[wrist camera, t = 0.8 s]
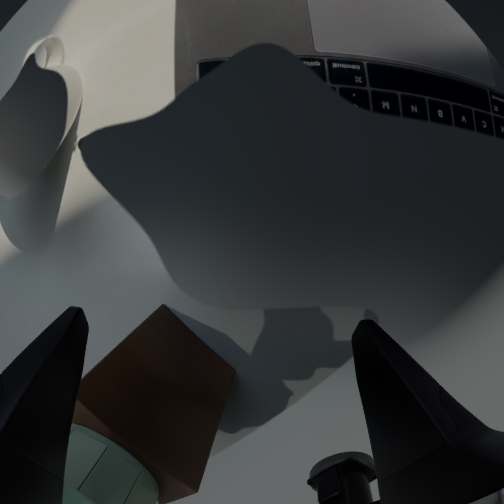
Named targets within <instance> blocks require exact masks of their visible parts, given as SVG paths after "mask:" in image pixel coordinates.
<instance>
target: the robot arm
mask: <svg viewBox="0 0 504 504" xmlns="http://www.w3.org/2000/svg"><path fill="white" fill-rule="evenodd" d="M88 332H89V326H88V322H87V319H86V317H85V314H84V311H83V309H82V308H80V307H74V306H71V307H69V308H68V309H67V310H65V311H64V312H63V313H62V314H61V315H60V316H59V317H58V318H57V319H56V320H55V321H54V322H52V323H51V324H50V325H49V326H48V327H47V328H46V329H45V330H44V331H43V332H42V333H41V334H40V335H39V336H38V337H37V338H36V339H35V340H34V341H33V342H32V343H31V344H29V345H28V346H27V347H26V348H25V349H24V350H23V351H22V352H21V353H20V354H19V355H18V356H17V357H16V358H15V359H14V361H13V362H12V363H11V364H10V365H9V366H8V367H7V368H6V369H5V370H4V371H3V372H2V374H0V504H62V499H63V486H64V474H65V465H66V457H67V450H68V443H69V437H70V431H71V425H72V419H73V414H74V409H75V404H76V399H77V394H78V390H79V385H80V381H81V376H82V372H83V365H84V358H85V351H86V344H87V338H88ZM351 342H352V349H353V356H354V364H355V371H356V378H357V383H358V388H359V392H360V396H361V401H362V405H363V410H364V414H365V419H366V423H367V428H368V433H369V438H370V443H371V448H372V453H373V459H374V464H375V470H376V472H375V471H373V470H372V469H370V468H368V467H367V466H365V465H364V464H362V463H361V462H359V461H357V460H356V459H354V458H352V457H349V458H347V459H345V460H343V461H342V462H340V463H338V464H336V465H335V466H333V467H331V468H329V469H327V470H325V471H324V472H322V473H320V474H318V475H316V476H314V477H312V478H310V479H308V480H307V484H308V485H310V486H312V487H314V488H315V489H317V492H318V502H319V504H504V432H501V431H496V430H493V429H491V428H489V427H487V426H486V425H485V424H484V423H482V422H481V421H480V420H479V419H477V418H476V417H475V416H474V415H473V414H471V413H470V412H469V411H468V410H467V409H466V408H464V407H463V406H462V405H461V404H460V403H459V402H457V401H456V400H455V399H454V398H453V397H452V396H451V395H450V394H449V393H448V392H447V391H446V390H445V389H444V388H443V387H442V386H440V385H439V383H438V382H437V381H436V380H435V379H434V378H433V377H432V376H431V375H430V374H428V372H426V370H424V368H422V367H421V366H420V365H419V364H418V363H417V362H416V361H415V360H414V359H413V358H412V357H411V356H410V355H409V354H408V353H407V352H406V351H405V350H404V349H403V348H402V347H401V346H399V344H398V343H397V342H395V341H394V340H393V339H392V338H391V337H390V336H389V335H388V334H387V333H386V332H385V331H384V330H383V329H382V328H381V327H380V326H379V325H377V324H376V323H375V322H374V321H373V320H361V321H360V322H359V323H358V325H357V327H356V329H355V331H354V333H353V335H352V339H351ZM375 479H377V480H378V487H379V495H380V500H378V501H374V502H373V499H372V494H371V490H370V485H369V483H370V482H372V481H373V480H375Z"/></svg>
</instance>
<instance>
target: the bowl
mask: <svg viewBox="0 0 504 504" xmlns="http://www.w3.org/2000/svg"><path fill="white" fill-rule="evenodd" d="M159 494H160V492H159V487H158V484H157V482H156V480H155V479H154V477H153V476H152V474H151V473H150V472H149V471H148V470H147V469H146V468H145V467H144V466H143V465H142V464H141V463H140V462H139V461H138V460H137V459H136V458H135V457H133V456H132V455H131V454H130V453H129V452H127V451H126V450H124V449H123V448H122V447H120V446H119V445H117V444H116V443H114V442H113V441H111V440H110V439H108V438H106V437H105V436H103V435H101V434H99V433H97V432H95V431H93V430H91V429H89V428H87V427H84V426H81V425H78V424H75V423H72V425H71V431H70V437H69V443H68V450H67V457H66V465H65V474H64V486H63V499H62V504H158V503H159Z"/></svg>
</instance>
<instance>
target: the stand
mask: <svg viewBox="0 0 504 504" xmlns="http://www.w3.org/2000/svg"><path fill="white" fill-rule="evenodd" d="M234 371H235V370H234V369H233V368H232V367H231V366H230V365H228V364H227V363H226V362H225V361H224V360H223V359H222V358H220V357H219V356H218V355H217V354H216V353H215V352H214V351H213V350H211V349H210V348H209V347H208V346H207V345H206V344H205V343H204V342H203V341H202V340H200V339H199V338H198V337H197V336H196V335H195V334H194V333H193V332H192V331H191V330H190V329H189V328H188V327H186V326H185V325H184V324H183V323H182V322H181V321H180V320H179V319H178V318H177V317H176V316H175V315H174V314H173V313H172V312H171V311H170V310H169V309H168V308H167V307H166V306H165V305H164V304H162V305H161V306H160V307H159V308H158V309H157V310H155V311H154V312H153V313H152V314H151V315H150V316H149V317H148V318H147V319H146V320H144V321H143V322H142V323H141V324H140V325H139V326H138V327H137V328H136V329H135V330H134V331H132V332H131V333H130V334H129V335H128V336H127V337H126V338H125V339H124V340H123V341H122V342H120V343H119V344H118V345H117V346H116V347H115V348H114V349H113V350H112V351H111V352H110V353H109V354H108V355H106V356H105V357H104V358H103V359H102V360H101V361H100V362H99V363H98V364H97V365H96V366H95V367H94V368H93V369H91V370H90V371H89V372H88V373H87V374H86V375H85V376H84V377H83V378H82V379H81V381H80V385H79V390H78V394H77V399H76V404H75V409H74V414H73V419H72V423H75V424H78V425H81V426H84V427H87V428H89V429H91V430H93V431H95V432H97V433H99V434H101V435H103V436H105V437H106V438H108V439H110V440H111V441H113V442H114V443H116V444H117V445H119V446H120V447H122V448H123V449H124V450H126V451H127V452H129V453H130V454H131V455H132V456H133V457H135V458H136V459H137V460H138V461H139V462H140V463H141V464H142V465H143V466H144V467H145V468H146V469H147V470H148V471H149V472H150V473H151V474H152V476H153V477H154V479H155V480H156V482H157V484H158V487H159V492H160V494H159V503H158V504H166V503H169V502H172V501H175V500H178V499H181V498H184V497H187V496H189V495H192V494H195V493H197V492H198V490H199V486H200V483H201V480H202V477H203V474H204V470H205V467H206V464H207V461H208V458H209V455H210V451H211V448H212V445H213V442H214V438H215V435H216V432H217V428H218V425H219V422H220V418H221V415H222V412H223V409H224V405H225V402H226V398H227V395H228V392H229V388H230V385H231V382H232V378H233V375H234Z"/></svg>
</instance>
